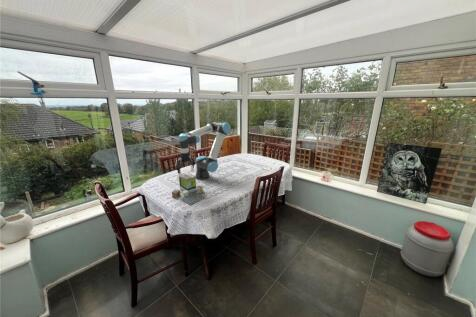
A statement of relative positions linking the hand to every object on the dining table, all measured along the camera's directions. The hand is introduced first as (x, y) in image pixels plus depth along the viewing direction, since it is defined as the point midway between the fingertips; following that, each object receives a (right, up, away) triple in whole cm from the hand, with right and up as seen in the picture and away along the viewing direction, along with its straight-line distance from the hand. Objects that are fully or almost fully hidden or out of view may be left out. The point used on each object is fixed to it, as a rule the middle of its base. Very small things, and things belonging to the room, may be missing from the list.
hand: (186, 174), depth 171 cm
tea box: (0, -15, +6) cm, 16 cm away
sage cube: (+1, -19, -5) cm, 19 cm away
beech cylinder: (+13, -17, 0) cm, 21 cm away
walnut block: (-7, -19, -6) cm, 21 cm away
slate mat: (+9, -20, -10) cm, 24 cm away
